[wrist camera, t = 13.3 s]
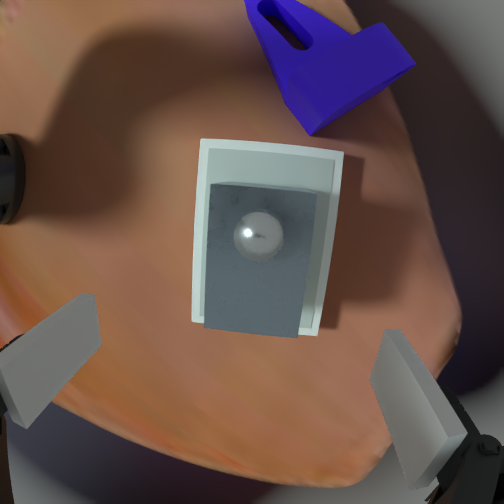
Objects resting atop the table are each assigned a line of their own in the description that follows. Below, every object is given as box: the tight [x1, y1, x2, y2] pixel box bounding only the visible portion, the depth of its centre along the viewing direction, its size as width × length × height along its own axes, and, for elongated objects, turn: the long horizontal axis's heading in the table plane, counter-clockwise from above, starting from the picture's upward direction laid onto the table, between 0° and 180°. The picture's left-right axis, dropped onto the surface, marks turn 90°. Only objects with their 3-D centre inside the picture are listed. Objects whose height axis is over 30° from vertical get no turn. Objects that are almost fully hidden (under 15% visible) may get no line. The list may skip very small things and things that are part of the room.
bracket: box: [244, 0, 416, 136], centre depth 24 cm, size 18×11×12 cm, turn 36°
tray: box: [192, 139, 344, 336], centre depth 34 cm, size 15×21×3 cm
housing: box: [204, 181, 317, 338], centre depth 28 cm, size 8×13×10 cm, turn 175°
